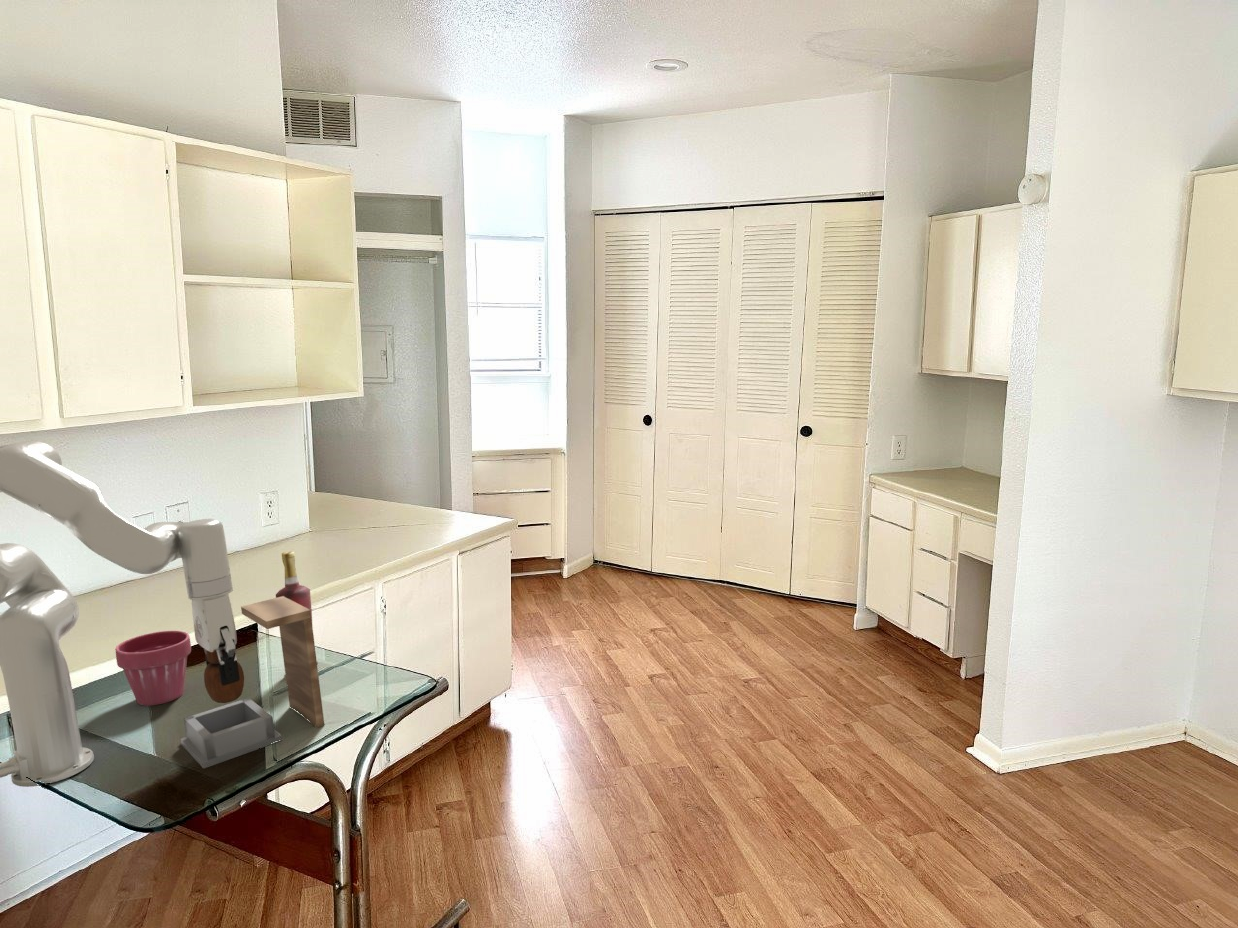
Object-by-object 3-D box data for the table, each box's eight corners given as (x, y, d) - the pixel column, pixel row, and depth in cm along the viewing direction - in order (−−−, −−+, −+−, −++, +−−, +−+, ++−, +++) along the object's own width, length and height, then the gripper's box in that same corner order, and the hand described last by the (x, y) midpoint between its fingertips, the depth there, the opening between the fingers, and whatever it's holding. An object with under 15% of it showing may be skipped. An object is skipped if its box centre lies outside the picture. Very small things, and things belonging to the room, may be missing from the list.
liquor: (324, 664, 199) (310, 548, 194) (312, 677, 191) (297, 556, 187) (293, 666, 199) (278, 549, 195) (280, 678, 192) (264, 558, 187)
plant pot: (210, 682, 192) (202, 628, 190) (172, 710, 178) (163, 652, 176) (151, 684, 193) (142, 630, 191) (108, 711, 179) (99, 653, 177)
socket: (203, 768, 152) (199, 742, 151) (181, 743, 162) (177, 719, 161) (282, 740, 161) (278, 715, 160) (256, 718, 171) (252, 695, 171)
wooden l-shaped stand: (282, 740, 161) (266, 621, 157) (256, 718, 171) (240, 606, 168) (324, 725, 166) (310, 609, 163) (296, 704, 177) (283, 596, 173)
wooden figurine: (201, 704, 159) (189, 628, 157) (225, 691, 164) (213, 617, 162) (229, 707, 156) (217, 629, 154) (252, 694, 162) (241, 619, 159)
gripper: (174, 583, 161) (189, 672, 164) (202, 600, 148) (217, 696, 151) (216, 573, 166) (229, 660, 169) (246, 589, 153) (260, 682, 156)
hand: (223, 676), depth 160 cm, fingers closed on wooden figurine, 7 cm apart
